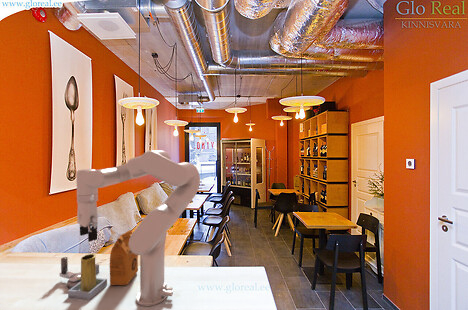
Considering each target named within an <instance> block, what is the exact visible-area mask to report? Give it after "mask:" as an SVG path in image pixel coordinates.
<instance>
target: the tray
mask: <svg viewBox="0 0 468 310" xmlns="http://www.w3.org/2000/svg"><path fill="white" fill-rule="evenodd" d="M96 284H97V286H96V287H95V288H93V289H92V290H91V291H90V292H86V291H80V287H81V282H79V283H78V284H77V285H75V286H74V287H72V288H71V289H68V290H67V297H68V298H72V299H78V300H87V301H90V300H91V299H93V298H94V297H95V296H96V295H97V294H98V293H100V292H101V291H102V290H104V288H106V286H107V285H108V278H101V277H96Z"/></svg>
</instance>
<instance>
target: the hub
mask: <svg viewBox="0 0 468 310" xmlns="http://www.w3.org/2000/svg"><path fill="white" fill-rule="evenodd" d="M79 282H81V281H79ZM79 282H75V283H71V282H69V279H68V280H67V283H66V284H67V286H66V288H67V289H68V290H70V289H71V288H72V287H74V286H75V285H77V284H78V283H79Z"/></svg>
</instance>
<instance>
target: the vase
mask: <svg viewBox="0 0 468 310" xmlns="http://www.w3.org/2000/svg"><path fill="white" fill-rule="evenodd" d="M80 261H81V262H80V273H81V287H80V291H86V292H90V291H91V290H92V289H93V288H95V287H96V286H97V284H96V278H97V274H96V266H95V264H96V255H95V254H93V253H91V254H85V255H83V256H82V257H80Z"/></svg>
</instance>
